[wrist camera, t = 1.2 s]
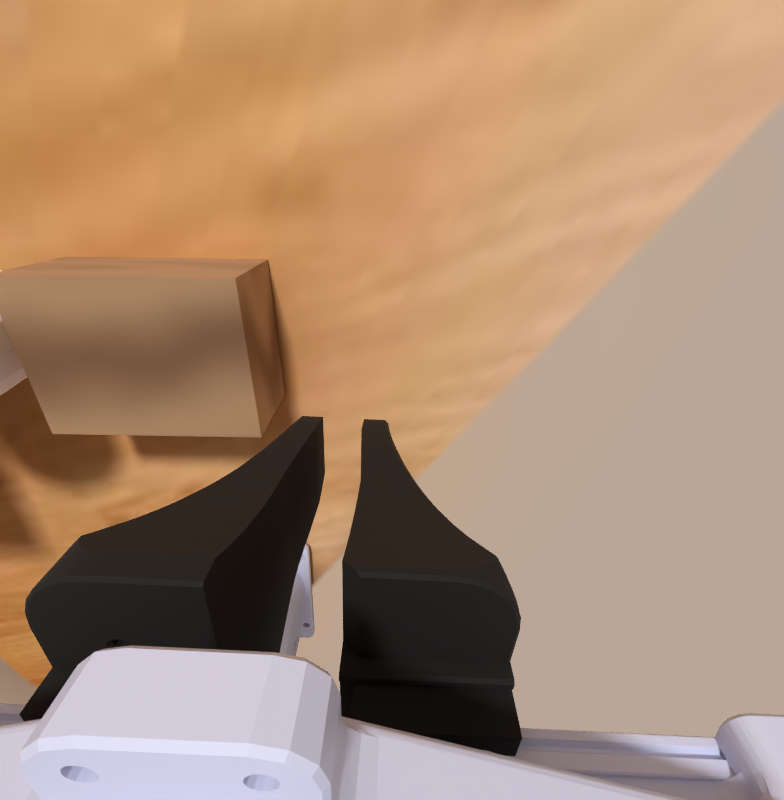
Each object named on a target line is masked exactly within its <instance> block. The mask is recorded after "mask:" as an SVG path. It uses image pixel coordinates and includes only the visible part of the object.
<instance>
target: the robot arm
mask: <svg viewBox="0 0 784 800" xmlns="http://www.w3.org/2000/svg"><path fill="white" fill-rule="evenodd" d="M324 474H325V464H324V435H323V417H309V416H302V417H301V418H300V419H299V420H297V421H296V422H295V423H294V424H293V425H292V426H290V427H289V428H288V429H287V430H286V431H285V432H284V433H283V434H281V435H280V436H279V437H278V438H277V439H276V440H274V441H273V442H272V443H271V444H270V445H268V446H267V447H266V448H265V449H264V450H262V451H261V452H259V453H258V454H257V455H255V456H254V457H253V458H251V459H250V460H249V461H247V462H246V463H245V464H243V465H242V466H240V467H239V468H237V469H236V470H234V471H233V472H231V473H230V474H228V475H226V476H225V477H223V478H221V479H220V480H218V481H216V482H215V483H213V484H211V485H209V486H207V487H205V488H203V489H201V490H199V491H197V492H195V493H193V494H191V495H189V496H187V497H185V498H183V499H181V500H179V501H177V502H175V503H172V504H170V505H168V506H165V507H163V508H161V509H158V510H156V511H153V512H151V513H148V514H146V515H143V516H141V517H138V518H135V519H132V520H130V521H127V522H124V523H120V524H117V525H114V526H111V527H108V528H105V529H102V530H99V531H96V532H93V533H89V534H86V535H82V536H81V537H80V538H79V539H78V540H77V541H76V542H75V543H74V544H73V545H72V546H71V547H70V548H69V549H68V550H67V552H66V553H65V554H64V555H63V556H62V557H61V558H60V559H59V560H58V561H57V563H56V564H55V565H54V566H53V567H52V568H51V569H50V570H49V571H48V572H47V574H46V575H45V576H44V577H43V578H42V579H41V580H40V581H39V582H38V584H37V585H36V586H35V587H34V588H33V589H32V591H31V592H30V594H29V595H28V597H27V598H26V604H25V614H26V617H27V620H28V623H29V626H30V628H31V630H32V632H33V633H34V635H35V637H36V639H37V640H38V642H39V644H40V646H41V647H42V649H43V651H44V653H45V654H46V656H47V658H48V660H49V662H50V663H51V665H52V667H53V668H52V669H51V671H50V672H49V673H48V675H47V676H46V678H45V679H44V680H43V682H42V683H41V685H40V686H39V687H38V689H37V690H36V691H35V693H34V694H33V696H32V697H31V699H30V700H29V701H28V703H27V704H26V705H23V704H1V703H0V800H784V715H772V714H752V713H749V714H739V715H736V716H733V717H730V718H729V719H727V720H726V721H725V722H724V723H723V724H722V725H721V726H720V728H719V730H718V732H717V734H716V737H698V736H677V735H656V734H655V735H654V734H635V733H614V732H592V731H572V730H550V729H529V728H520V725H519V721H518V716H517V712H516V707H515V702H514V698H513V693H512V689H513V688H514V677H513V673H512V668H511V664H510V660H511V656H512V653H513V650H514V647H515V643H516V640H517V637H518V634H519V630H520V620H521V617H520V613H519V608H518V605H517V601H516V598H515V596H514V593H513V590H512V588H511V585H510V583H509V581H508V579H507V576H506V574H505V572H504V570H503V568H502V566H501V564H500V562H499V560H498V558H497V557H496V556H495V555H494V554H492V553H491V552H489V551H488V550H486V549H485V548H484V547H482V546H480V545H479V544H478V543H476V542H475V541H473V540H472V539H471V538H469V537H468V536H466V535H465V534H464V533H463V532H462V531H460V530H459V529H458V528H457V527H456V526H454V525H453V524H452V523H451V522H450V521H449V520H448V519H447V518H446V517H445V516H444V515H443V514H442V513H441V512H440V511H439V510H438V509H437V508H436V507H435V506H434V505H433V504H432V502H431V501H430V500H429V499H428V498H427V497H426V495H425V494H424V493H423V492H422V490H421V489H420V488H419V486H418V485H417V484H416V482H415V481H414V479H413V478H412V476H411V475H410V473H409V471H408V470H407V468H406V466H405V465H404V463H403V461H402V459H401V457H400V455H399V453H398V451H397V449H396V447H395V445H394V442H393V440H392V437H391V434H390V431H389V426H388V423H387V422H386V421H385V420H369V419H364V422H363V426H362V442H361V483H360V488H359V494H358V499H357V504H356V509H355V514H354V518H353V523H352V527H351V532H350V535H349V539H348V543H347V547H346V550H345V554H344V557H343V561H342V562H343V563H342V565H343V647H342V655H341V663H340V671H339V681H340V693H339V691H338V689H337V686H336V685H335V682H334V680H333V678H332V677H331V676H330V674H329V673H328V672H327V671H325V670H323V669H322V668H320V667H318V666H317V665H315V664H314V663H312V662H310V661H308V660H307V659H305V658H301V657H296V656H295V655H296V651H297V646H298V642H299V637H311V636H313V634H314V617H313V599H312V583H311V568H310V552H309V546H308V545H307V544H306V541H307V538H308V535H309V532H310V529H311V526H312V523H313V520H314V517H315V514H316V511H317V507H318V504H319V501H320V496H321V491H322V485H323V480H324ZM302 555H303V556H302Z"/></svg>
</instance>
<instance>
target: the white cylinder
mask: <svg viewBox="0 0 784 800" xmlns="http://www.w3.org/2000/svg"><path fill="white" fill-rule="evenodd" d="M0 271H2V270H0ZM26 378H27V375H26V373H25V370H24V368H23V366H22V364H21V361H20V359H19V357H18V354H17V352H16V350H15V348H14V345H13V343H12V341H11V338H10V336H9V334H8V332H7V329H6V327H5V325H4V322H3V320H2V318H1V316H0V395H2V394H3V393H5V392H6V391H8V390H9V389H11V388H12V387H14V386H15V385H17V384H18V383H20V382H21V381H23V380H24V379H26Z"/></svg>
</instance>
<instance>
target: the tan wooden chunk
mask: <svg viewBox="0 0 784 800" xmlns="http://www.w3.org/2000/svg"><path fill="white" fill-rule="evenodd" d="M0 316H1V318H2V320H3V322H4V325H5V327H6V329H7V332H8V334H9V336H10V338H11V341H12V343H13V345H14V348H15V350H16V352H17V354H18V357H19V359H20V361H21V364H22V366H23V368H24V370H25V373H26V375H27V377H28V379H29V382H30V384H31V386H32V389H33V391H34V393H35V395H36V398H37V400H38V402H39V405H40V407H41V409H42V411H43V414H44V416H45V418H46V421H47V423H48V425H49V427H50V430H51V432H52V434H87V435H146V436H204V437H262V436H263V434H264V432H265V430H266V428H267V426H268V425H269V423H270V421H271V419H272V417H273V415H274V414H275V412H276V410H277V408H278V406H279V404H280V403H281V401H282V399H283V397H284V395H285V391H284V383H283V375H282V367H281V360H280V352H279V344H278V336H277V328H276V320H275V312H274V304H273V296H272V288H271V280H270V273H269V265H268V259H190V258H96V257H63V258H58V259H54V260H49V261H45V262H40V263H36V264H31V265H27V266H22V267H18V268H13V269H9V270H4V271H0Z"/></svg>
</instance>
